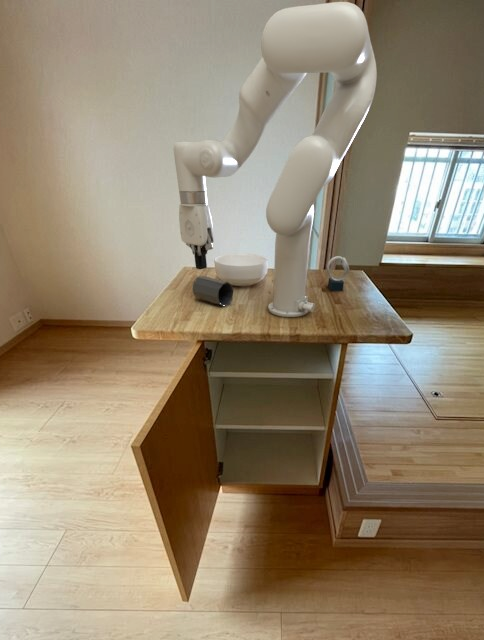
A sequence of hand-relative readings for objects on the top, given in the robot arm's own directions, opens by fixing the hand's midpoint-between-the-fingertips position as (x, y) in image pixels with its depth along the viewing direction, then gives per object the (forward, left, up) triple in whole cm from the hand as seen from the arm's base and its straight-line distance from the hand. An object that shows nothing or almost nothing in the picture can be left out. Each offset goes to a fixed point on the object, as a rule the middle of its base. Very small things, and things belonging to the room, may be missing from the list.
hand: (201, 268), depth 98 cm
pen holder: (+1, 0, -6) cm, 6 cm away
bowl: (+3, -22, -10) cm, 24 cm away
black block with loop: (-28, -39, -10) cm, 49 cm away
